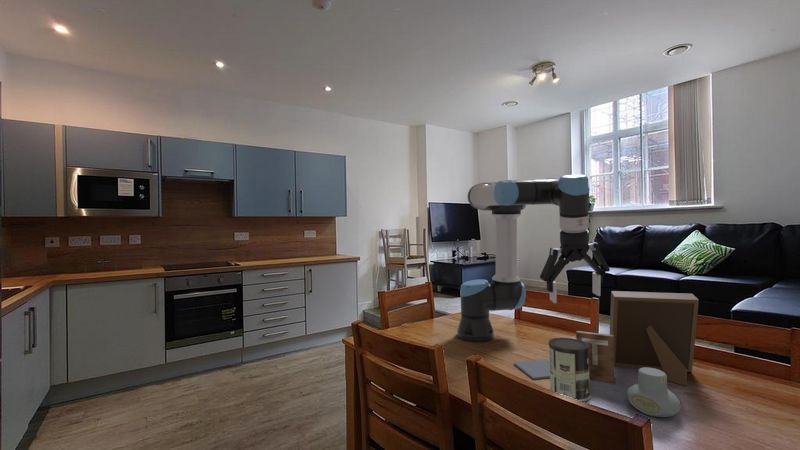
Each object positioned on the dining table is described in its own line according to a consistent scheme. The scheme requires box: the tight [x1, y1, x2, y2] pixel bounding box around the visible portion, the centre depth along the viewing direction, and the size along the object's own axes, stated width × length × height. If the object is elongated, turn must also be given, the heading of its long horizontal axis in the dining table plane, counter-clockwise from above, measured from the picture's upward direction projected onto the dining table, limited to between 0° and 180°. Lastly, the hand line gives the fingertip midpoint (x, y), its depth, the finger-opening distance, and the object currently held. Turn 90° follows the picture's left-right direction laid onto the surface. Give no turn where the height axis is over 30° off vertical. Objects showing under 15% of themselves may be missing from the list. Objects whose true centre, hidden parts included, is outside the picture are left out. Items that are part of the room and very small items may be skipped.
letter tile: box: [575, 330, 616, 385], centre depth 109 cm, size 10×5×14 cm, turn 60°
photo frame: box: [609, 290, 700, 386], centre depth 111 cm, size 15×22×25 cm
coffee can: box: [548, 337, 591, 403], centre depth 100 cm, size 10×10×14 cm
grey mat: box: [513, 358, 550, 380], centre depth 116 cm, size 12×12×1 cm
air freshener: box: [626, 367, 681, 418], centre depth 89 cm, size 11×8×10 cm
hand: (574, 297), depth 107 cm, fingers open, 13 cm apart
